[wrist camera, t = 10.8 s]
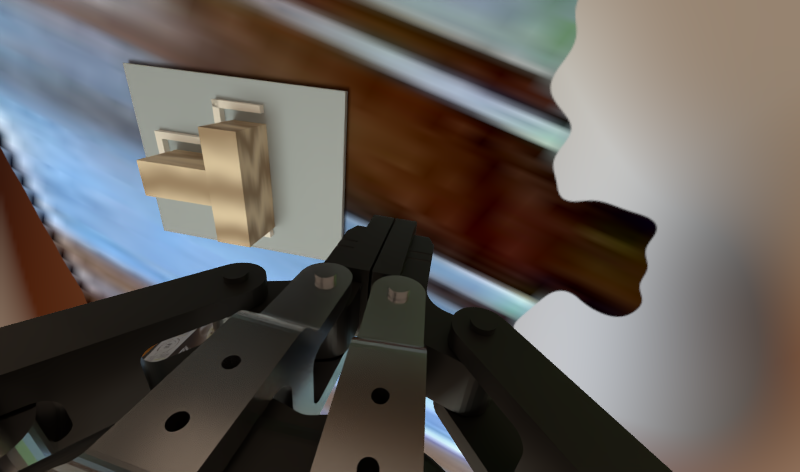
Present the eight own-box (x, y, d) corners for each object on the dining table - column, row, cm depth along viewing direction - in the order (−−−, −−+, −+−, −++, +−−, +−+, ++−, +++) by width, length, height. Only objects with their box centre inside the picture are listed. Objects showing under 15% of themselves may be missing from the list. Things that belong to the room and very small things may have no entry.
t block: (168, 111, 47) (124, 116, 41) (266, 124, 46) (235, 131, 40) (190, 212, 55) (155, 230, 49) (274, 227, 53) (250, 247, 47)
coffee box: (197, 305, 66) (124, 369, 51) (224, 302, 64) (155, 367, 50) (219, 340, 69) (155, 409, 55) (244, 338, 68) (186, 408, 53)
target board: (129, 63, 46) (116, 62, 45) (347, 91, 43) (342, 91, 41) (168, 228, 58) (159, 232, 56) (342, 260, 55) (338, 266, 53)
